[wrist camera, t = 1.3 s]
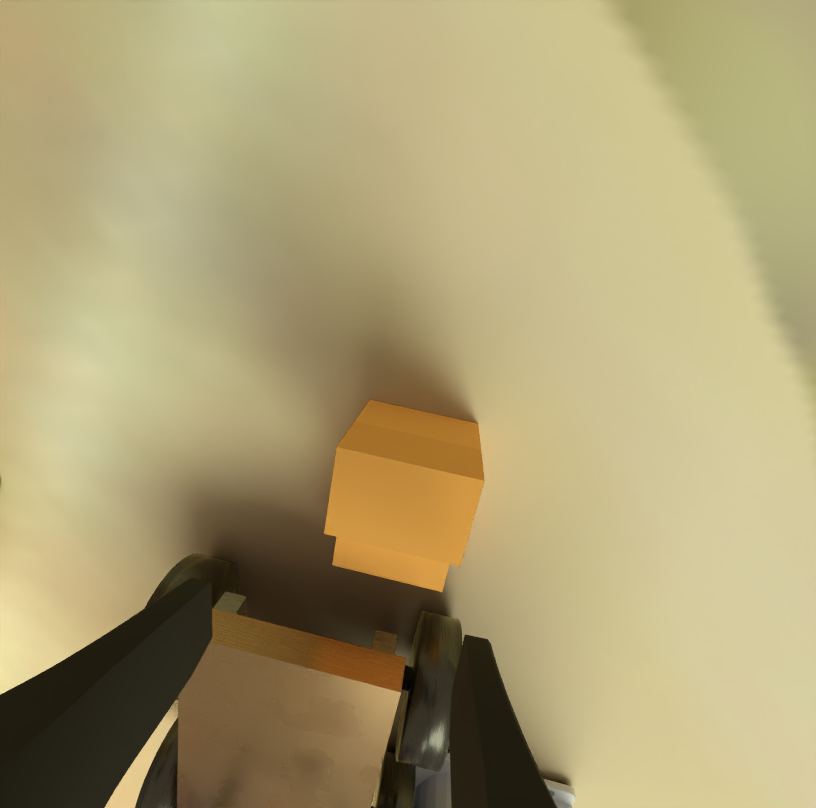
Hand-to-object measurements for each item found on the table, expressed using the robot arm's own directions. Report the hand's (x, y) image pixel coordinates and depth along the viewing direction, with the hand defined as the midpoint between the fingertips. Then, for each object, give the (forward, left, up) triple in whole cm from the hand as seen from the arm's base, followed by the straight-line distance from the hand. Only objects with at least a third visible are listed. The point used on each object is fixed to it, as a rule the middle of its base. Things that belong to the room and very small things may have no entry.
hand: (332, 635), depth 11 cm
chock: (-1, 0, -9) cm, 9 cm away
